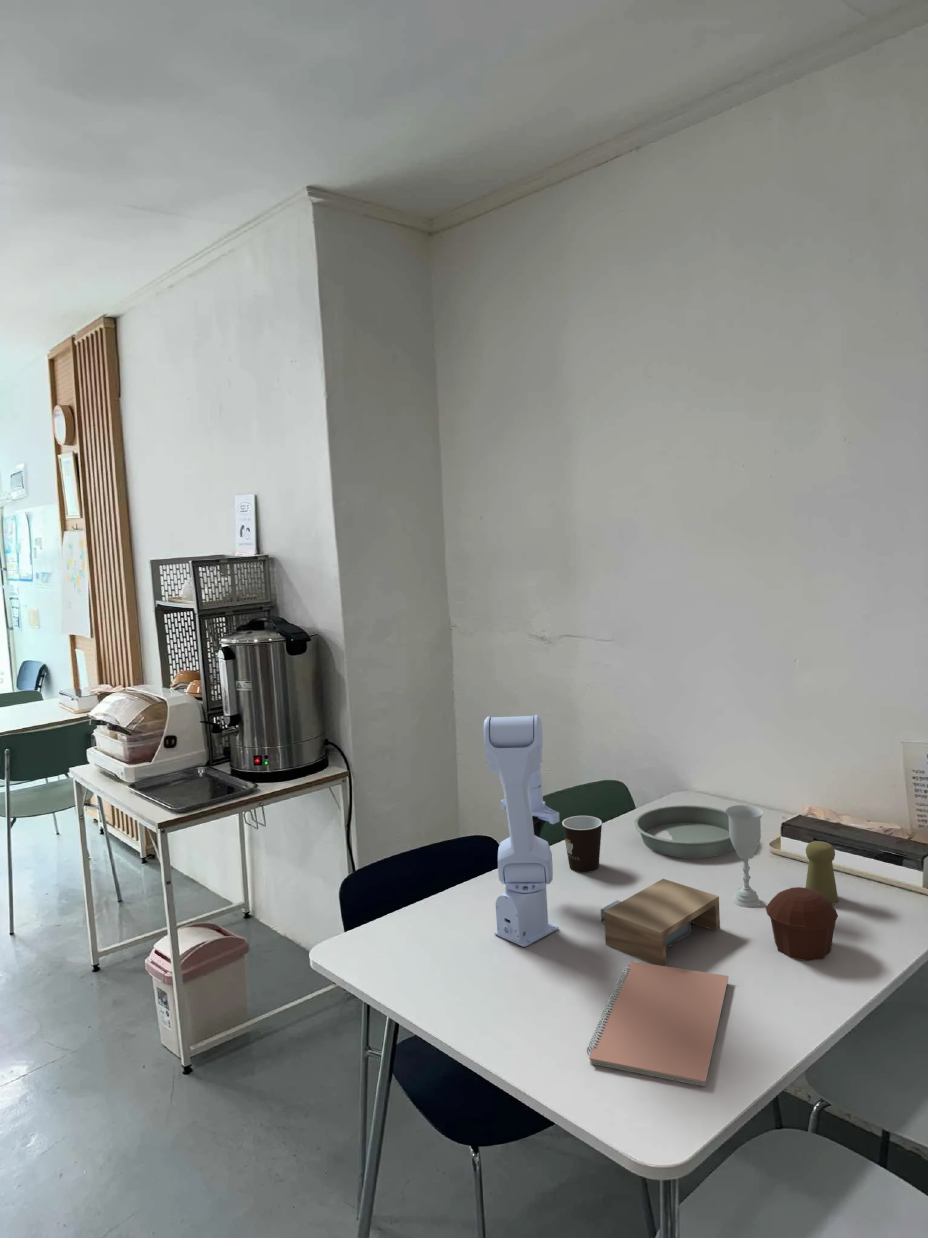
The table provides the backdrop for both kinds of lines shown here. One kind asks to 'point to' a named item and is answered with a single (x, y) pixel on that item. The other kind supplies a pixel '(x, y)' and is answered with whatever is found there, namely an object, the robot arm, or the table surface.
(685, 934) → the tray
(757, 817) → the chalice
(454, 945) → the table surface
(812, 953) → the muffin
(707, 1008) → the notebook
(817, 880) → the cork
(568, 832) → the coffee mug
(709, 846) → the cake pan
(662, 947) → the shelf
